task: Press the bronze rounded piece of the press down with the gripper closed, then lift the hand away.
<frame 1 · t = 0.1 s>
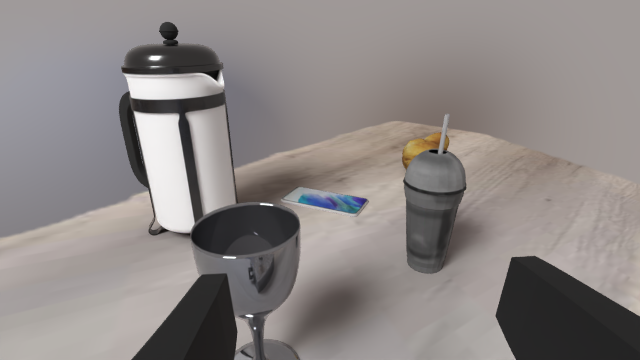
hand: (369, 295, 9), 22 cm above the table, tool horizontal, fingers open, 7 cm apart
smartphone: (324, 204, 65), on the table
beverage cup: (424, 264, 46), on the table
bread roll: (421, 170, 79), on the table
coffee press: (192, 225, 57), on the table
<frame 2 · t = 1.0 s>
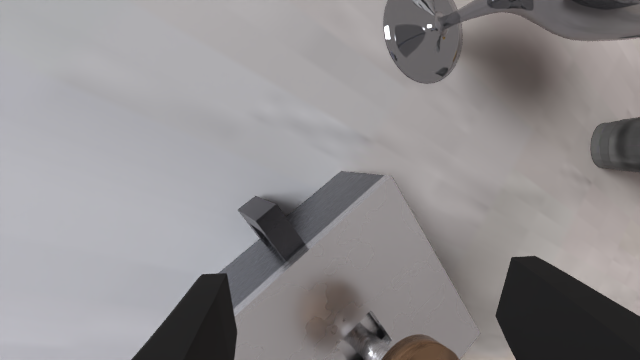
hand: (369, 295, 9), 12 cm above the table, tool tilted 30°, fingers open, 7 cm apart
bronze rounded piece: (382, 357, 16), point 7 cm above the table, slide at 3.0 cm
press: (320, 303, 22), on the table
wine glass: (423, 31, 24), on the table
beverage cup: (600, 145, 36), on the table
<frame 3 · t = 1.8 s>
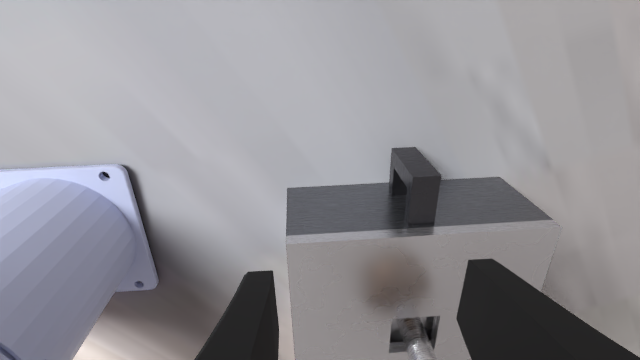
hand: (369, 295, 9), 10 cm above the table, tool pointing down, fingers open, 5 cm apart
bronze rounded piece: (423, 359, 16), point 6 cm above the table, slide at 3.0 cm
press: (388, 267, 22), on the table
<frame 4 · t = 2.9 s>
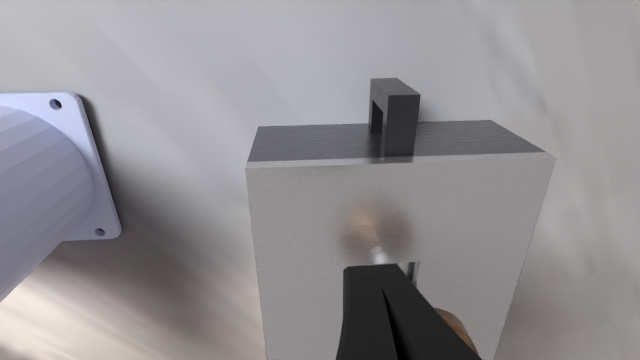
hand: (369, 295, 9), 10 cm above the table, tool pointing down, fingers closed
bronze rounded piece: (399, 307, 15), point 7 cm above the table, slide at 3.0 cm
press: (370, 222, 21), on the table
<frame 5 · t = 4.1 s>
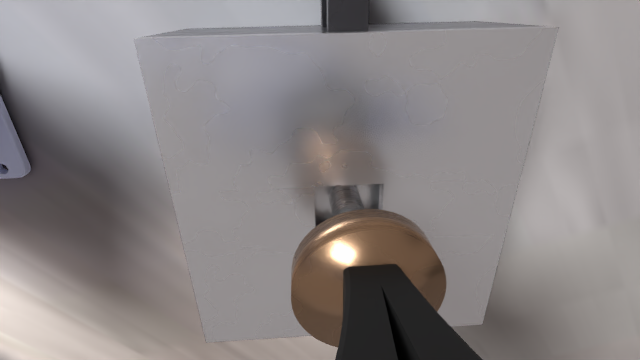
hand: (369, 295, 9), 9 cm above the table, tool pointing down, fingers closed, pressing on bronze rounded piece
bronze rounded piece: (352, 231, 12), point 6 cm above the table, slide at 2.6 cm, touching gripper
press: (334, 159, 17), on the table
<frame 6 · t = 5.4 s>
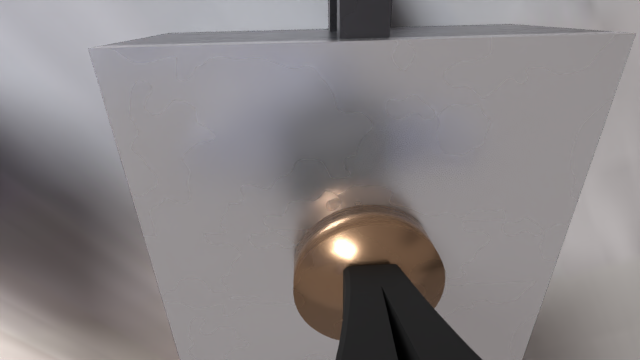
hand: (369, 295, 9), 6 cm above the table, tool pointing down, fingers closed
bronze rounded piece: (353, 227, 12), point 3 cm above the table, slide at -0.1 cm
press: (342, 182, 15), on the table
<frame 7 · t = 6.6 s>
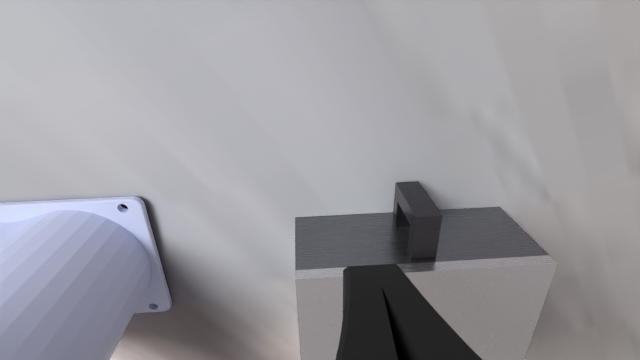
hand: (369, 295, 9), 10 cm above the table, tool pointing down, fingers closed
press: (391, 290, 23), on the table
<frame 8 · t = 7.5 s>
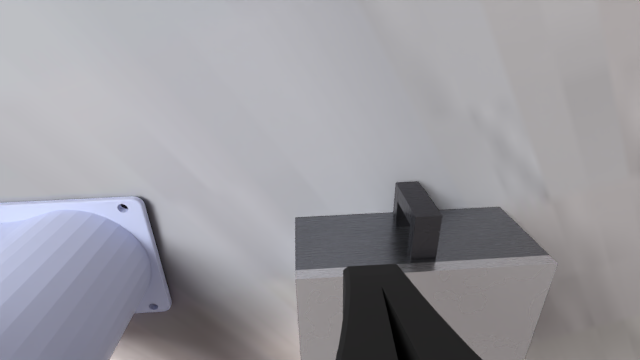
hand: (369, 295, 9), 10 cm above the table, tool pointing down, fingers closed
press: (391, 290, 23), on the table
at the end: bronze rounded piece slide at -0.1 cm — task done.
